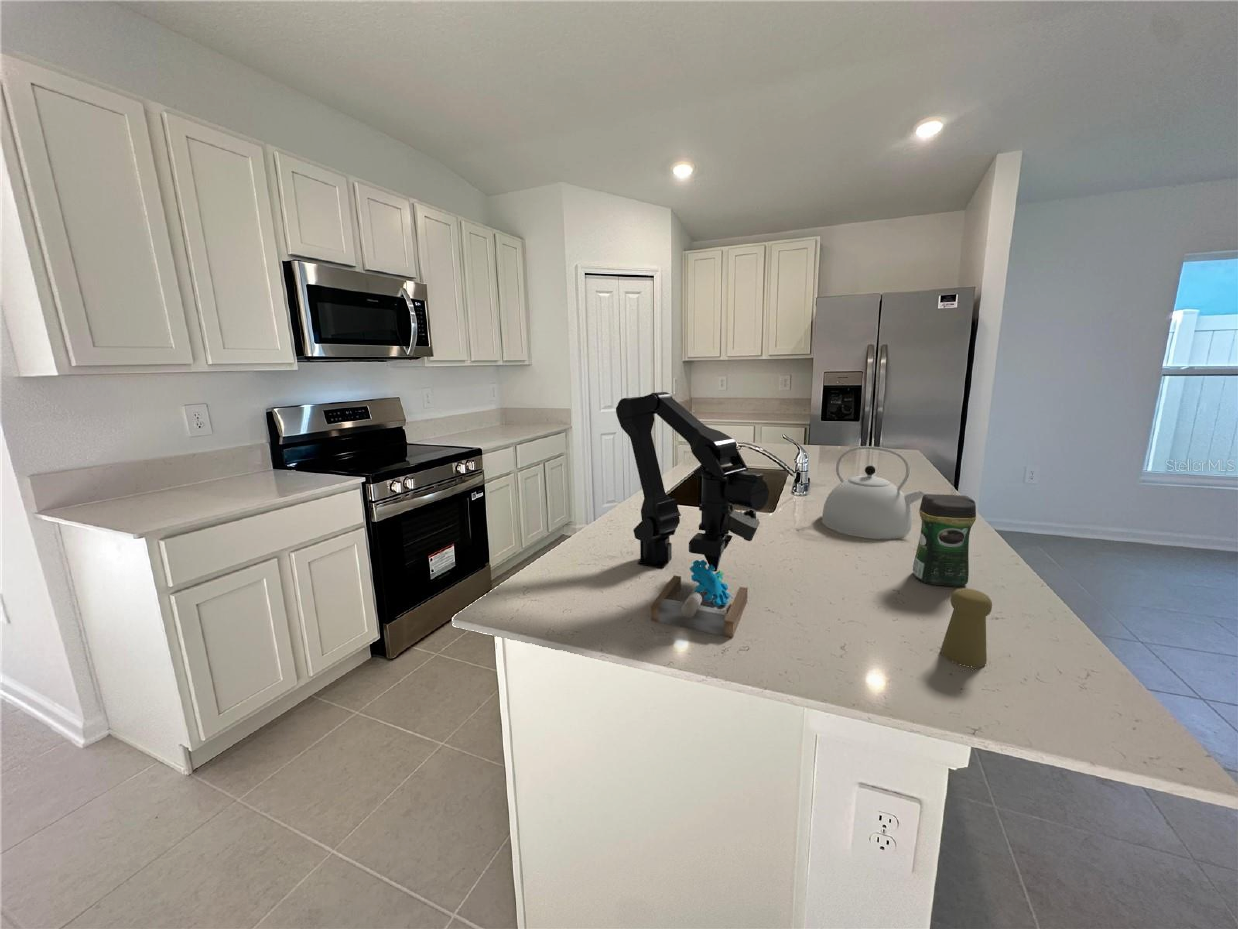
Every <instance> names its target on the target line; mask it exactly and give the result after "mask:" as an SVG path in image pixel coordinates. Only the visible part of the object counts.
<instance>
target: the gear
mask: <svg viewBox="0 0 1238 929" xmlns="http://www.w3.org/2000/svg"><path fill="white" fill-rule="evenodd" d="M689 570H690V572H692V573H693V574H691V577H690V578H691V581H692V582H695V583H698V585H697V586H695V589H694V590H693V591H692V592H697V593H699V594H701V593H702V592H706V594H705V595H704V599H705V600H706V601H707V602H711V601H712V600H713V598H714V600H713V605H714V606H716V607H720V606H726V605H727V604H728V603H729V602H728V599H729V598H730V597H731V594H730V593H729V592H727V590H729V585H728V583H725V582H723V579H724V577H723V575H724V573H723V572H724V571H722V570H717V571H716V573H714V570H715V568H714V566H713V565H712V564H711V565H710V566H709V565H708V562H707V560H704V559H702V560H697V559H695V560H694V561H693V562H692V566H690V567H689Z"/></svg>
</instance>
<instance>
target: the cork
mask: <svg viewBox="0 0 1238 929" xmlns="http://www.w3.org/2000/svg"><path fill="white" fill-rule="evenodd" d="M950 605H951V607H952V609H953V610H952V613H951V616H950V619H949V623H948V626H947V629H946V632H945V634H944V638H943V641H942V645H941V647H940V650H941V651H940V653H941V655H942V656H943V657H944V658H945V657H946V658H945V659H947V660H948V661H950V662H952V661H953V662H952V663H954V662H955V663H954V664H956V663H957V664H956V665H959V664H961V665H960V666H962V665H965V666H969V667H968V668H971V666H972V667H980V668H982V667H981V666H984V665H985V664H986V665H987V663H986V662H988V661H987V659H988V658H987V655H988V654H987V616H989V615H990V614H991V612H992V608H993V601H992V600H991V598H990V597H989V595H987V594H986V593H984V592H983V591H979V590H977V589H973V588H967V587H966V588H965V587H963V588H956V589H955V590H954V591H953V592H952V594H951V596H950ZM986 665H985V666H986ZM965 666H964V667H965ZM985 666H984V667H985Z"/></svg>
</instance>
